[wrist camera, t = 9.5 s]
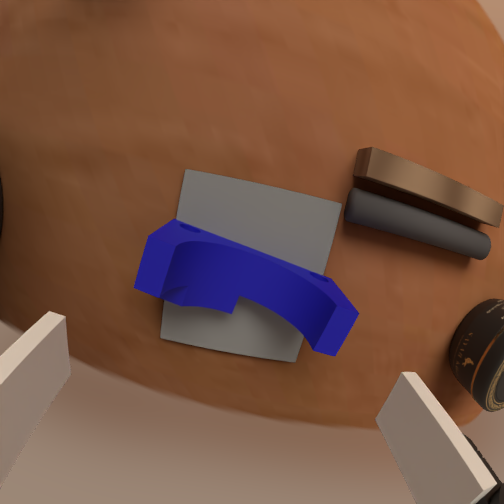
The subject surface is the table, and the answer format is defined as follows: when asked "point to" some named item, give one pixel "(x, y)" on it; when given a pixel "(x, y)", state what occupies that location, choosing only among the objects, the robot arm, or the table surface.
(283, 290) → the cable clip
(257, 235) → the mat
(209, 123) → the table surface
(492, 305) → the jar
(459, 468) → the robot arm
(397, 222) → the rod
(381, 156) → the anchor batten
